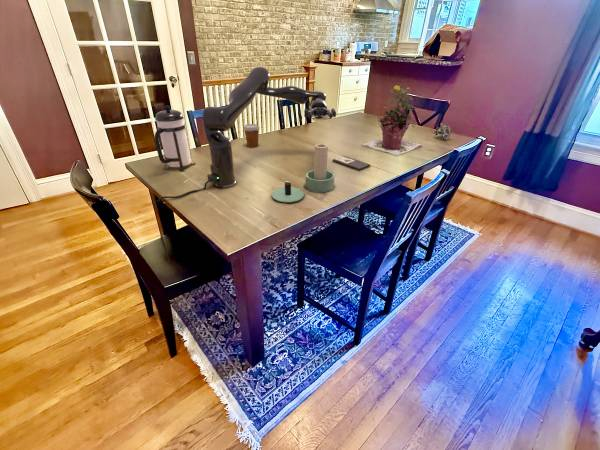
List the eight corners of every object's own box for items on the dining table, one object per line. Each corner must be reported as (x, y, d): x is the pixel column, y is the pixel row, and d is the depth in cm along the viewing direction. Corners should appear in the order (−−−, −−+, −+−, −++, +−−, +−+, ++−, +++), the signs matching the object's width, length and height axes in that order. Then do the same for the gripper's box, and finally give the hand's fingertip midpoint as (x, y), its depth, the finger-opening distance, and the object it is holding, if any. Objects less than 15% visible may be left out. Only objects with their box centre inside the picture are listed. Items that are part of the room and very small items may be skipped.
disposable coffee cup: (263, 145, 187) (262, 125, 181) (251, 149, 181) (250, 128, 175) (253, 142, 193) (252, 123, 186) (241, 145, 187) (239, 125, 180)
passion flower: (443, 148, 201) (446, 136, 190) (428, 142, 206) (430, 130, 195) (452, 135, 203) (456, 123, 192) (436, 130, 208) (439, 117, 197)
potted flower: (396, 155, 172) (408, 88, 153) (362, 145, 188) (369, 83, 169) (421, 146, 187) (435, 84, 168) (387, 137, 203) (396, 79, 184)
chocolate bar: (359, 168, 152) (332, 159, 163) (359, 170, 153) (332, 161, 164) (370, 164, 157) (343, 155, 169) (370, 166, 158) (343, 157, 169)
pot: (305, 192, 132) (305, 180, 129) (305, 180, 142) (305, 169, 140) (334, 192, 132) (335, 180, 129) (332, 180, 142) (333, 169, 139)
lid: (270, 203, 123) (269, 190, 120) (273, 189, 134) (272, 176, 131) (304, 203, 123) (304, 190, 120) (304, 189, 134) (304, 176, 131)
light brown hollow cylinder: (320, 188, 134) (322, 148, 124) (311, 185, 137) (312, 145, 127) (328, 185, 137) (330, 145, 128) (318, 181, 140) (320, 143, 131)
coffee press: (161, 164, 160) (146, 103, 144) (193, 159, 165) (182, 101, 150) (163, 175, 147) (146, 110, 131) (197, 171, 152) (185, 107, 136)
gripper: (333, 116, 147) (336, 125, 134) (303, 116, 147) (304, 125, 134) (334, 100, 143) (337, 107, 130) (304, 100, 143) (304, 107, 130)
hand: (320, 116), depth 132 cm, fingers open, 8 cm apart
